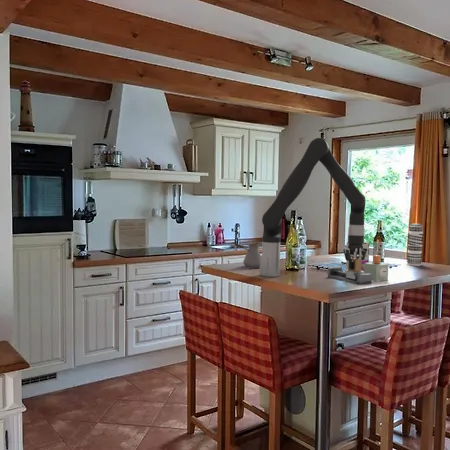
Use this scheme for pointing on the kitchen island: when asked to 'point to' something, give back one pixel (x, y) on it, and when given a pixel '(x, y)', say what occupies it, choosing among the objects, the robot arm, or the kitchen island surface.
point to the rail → (340, 275)
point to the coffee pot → (251, 256)
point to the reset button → (376, 259)
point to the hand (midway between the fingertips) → (354, 269)
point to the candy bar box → (366, 260)
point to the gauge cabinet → (377, 271)
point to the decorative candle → (415, 245)
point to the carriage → (354, 269)
